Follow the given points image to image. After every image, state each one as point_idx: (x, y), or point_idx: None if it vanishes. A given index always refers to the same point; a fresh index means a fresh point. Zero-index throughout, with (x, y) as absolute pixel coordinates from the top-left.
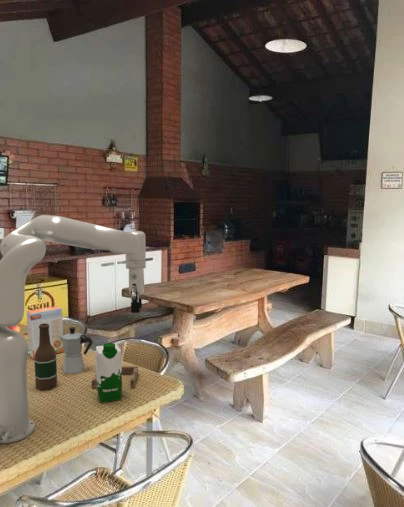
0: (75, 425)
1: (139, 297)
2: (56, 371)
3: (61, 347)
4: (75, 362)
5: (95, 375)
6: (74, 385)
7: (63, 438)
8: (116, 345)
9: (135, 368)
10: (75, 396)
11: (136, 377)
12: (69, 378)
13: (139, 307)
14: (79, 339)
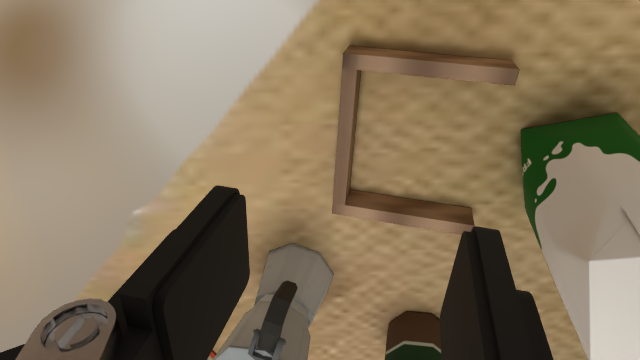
0: None
1: (122, 342)
2: (411, 347)
3: None
4: (314, 293)
5: (420, 225)
6: (427, 267)
7: None
8: (626, 266)
9: (368, 64)
10: (520, 263)
11: (404, 51)
12: (366, 281)
13: (514, 289)
14: (281, 354)
